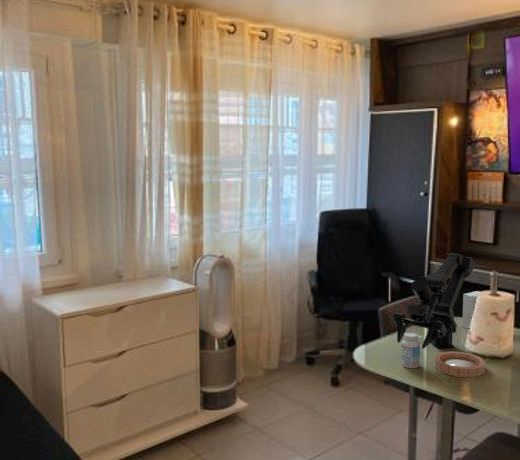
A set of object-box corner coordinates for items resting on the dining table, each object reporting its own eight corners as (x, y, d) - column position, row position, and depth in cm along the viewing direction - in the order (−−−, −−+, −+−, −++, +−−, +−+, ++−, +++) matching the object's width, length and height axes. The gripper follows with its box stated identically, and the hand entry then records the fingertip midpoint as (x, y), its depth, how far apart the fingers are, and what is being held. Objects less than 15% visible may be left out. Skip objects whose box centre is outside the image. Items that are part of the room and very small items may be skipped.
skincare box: (475, 324, 229) (477, 290, 227) (487, 328, 224) (488, 293, 222) (461, 327, 226) (462, 293, 224) (472, 331, 220) (473, 296, 218)
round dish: (466, 357, 192) (467, 349, 192) (494, 374, 177) (494, 366, 177) (426, 361, 189) (426, 353, 189) (450, 379, 174) (451, 371, 173)
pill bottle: (417, 362, 189) (418, 331, 187) (421, 368, 183) (421, 337, 181) (400, 361, 189) (400, 331, 188) (403, 368, 183) (403, 337, 182)
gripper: (394, 290, 193) (378, 327, 186) (444, 299, 180) (429, 339, 173) (404, 307, 199) (389, 343, 193) (453, 316, 187) (438, 355, 180)
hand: (410, 345), depth 185 cm, fingers open, 9 cm apart
